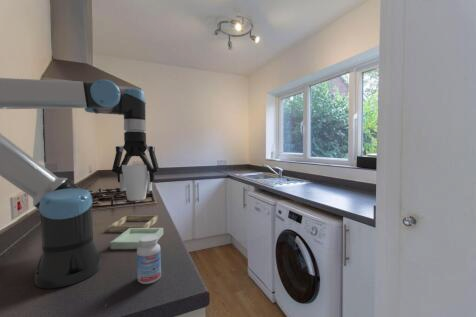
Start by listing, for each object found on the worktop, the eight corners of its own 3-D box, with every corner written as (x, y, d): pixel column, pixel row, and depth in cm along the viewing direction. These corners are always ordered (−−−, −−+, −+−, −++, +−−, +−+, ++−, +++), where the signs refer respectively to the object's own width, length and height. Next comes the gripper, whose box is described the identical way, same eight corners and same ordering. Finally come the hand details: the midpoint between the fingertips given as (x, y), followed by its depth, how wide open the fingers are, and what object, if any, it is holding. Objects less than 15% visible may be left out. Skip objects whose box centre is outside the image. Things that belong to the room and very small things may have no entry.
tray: (150, 248, 80) (149, 241, 80) (110, 249, 80) (110, 242, 80) (163, 233, 94) (163, 227, 94) (129, 234, 94) (129, 228, 94)
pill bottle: (141, 288, 58) (139, 244, 57) (134, 277, 62) (133, 237, 62) (164, 279, 61) (163, 238, 61) (157, 269, 66) (155, 232, 66)
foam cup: (117, 200, 84) (116, 165, 84) (138, 195, 93) (137, 163, 92) (134, 202, 80) (134, 165, 80) (155, 197, 88) (154, 164, 88)
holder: (144, 231, 96) (144, 226, 96) (108, 232, 96) (108, 226, 96) (158, 220, 112) (157, 215, 112) (126, 220, 112) (126, 215, 112)
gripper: (167, 132, 89) (168, 188, 90) (110, 132, 89) (112, 189, 90) (161, 130, 82) (162, 192, 83) (99, 130, 81) (101, 192, 82)
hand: (136, 190), depth 86 cm, fingers closed on foam cup, 9 cm apart
